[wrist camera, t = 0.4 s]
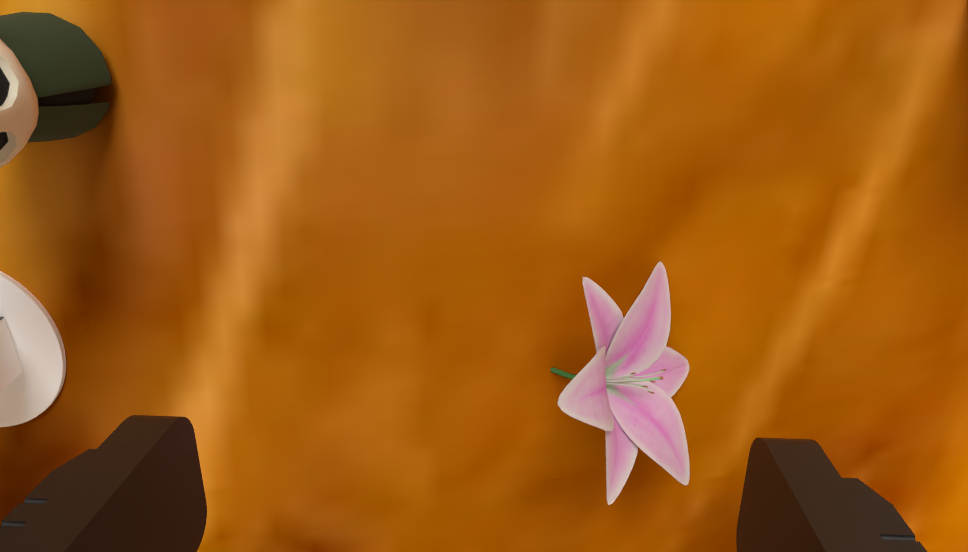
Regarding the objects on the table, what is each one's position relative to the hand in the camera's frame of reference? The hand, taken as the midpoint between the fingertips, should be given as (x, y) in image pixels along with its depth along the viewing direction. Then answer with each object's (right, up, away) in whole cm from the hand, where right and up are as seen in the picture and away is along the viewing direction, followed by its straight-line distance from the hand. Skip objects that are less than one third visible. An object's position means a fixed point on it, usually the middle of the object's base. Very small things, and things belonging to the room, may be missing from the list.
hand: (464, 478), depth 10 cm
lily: (+8, -1, +31) cm, 32 cm away
